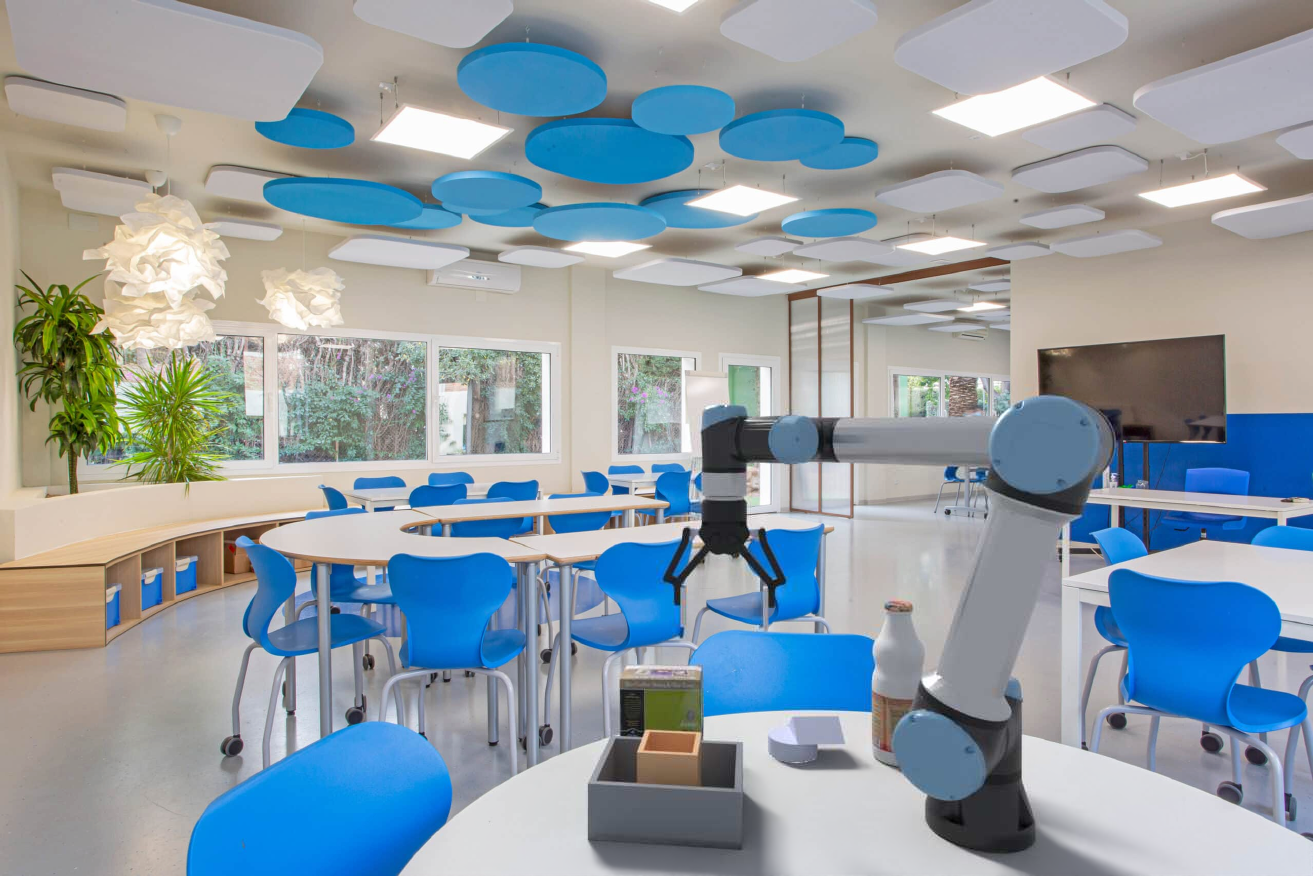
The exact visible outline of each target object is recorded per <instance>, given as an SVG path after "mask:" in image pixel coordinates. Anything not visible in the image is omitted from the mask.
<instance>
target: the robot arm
mask: <svg viewBox="0 0 1313 876" xmlns="http://www.w3.org/2000/svg"><path fill="white" fill-rule="evenodd" d="M700 439H701V440H700V441H701V464H702V465H701V474H700V476H701V477H700V479H701V486H700V487H701V496H702V497H704V499H702V500H701V525H700V527H699V528H695V527H691V526H689V525H687V526H684V527H683V529H682V534H681V535H682V536H681V541H680V543H679V545H678V547H677V548H676V550H675V553H674V555H673V557H672V559H671V561H670V563H669V565H668V566H667V569H666V571H665V573H664V574H663V578H662V580H663V582H664V583H665V584H666V583H667V584H670V585H672V587H673V604H674V606H675V607H676V606H680V628H685V627H686V625H687V584H683V582H684V581H686V580H687V578H688V577H689V576H690V574H691V573H692V572H693V571H694V570H695V569H696V568H697V567H698V565H699V564H700V563H701V562H702V560H703V559H704V558H705V557H706V556H707V555H708V554H709V553H711V554H714V555H715V556H721V555H727V556H734V555H735V554H737V553H739V555H740V556H741V557H742V558H743V559H744V560H745V561H746V563H747V564H749V566H750V567H751V568H752V570H753V571H754V572H755V573H756V574H757V575H758V576H759V578H760V579H761V580H762V582H763V583H764V584H765V585H766V586H764V585H763V586H762V595H763V597H762V599H763V600H762V608H763V609H762V610H763V611H762V613H763V615H762V617H763V618H762V619H763V620H762V623H763V625H762V627H763V630H769V609H774V608H775V606H776V589H777V588H778V587H780V586H784V585H786V584H787V578H786V576H785V574H784V572H783V570H782V567H781V566H780V564H779V562H778V560H777V558H776V556H775V554H774V552H773V550H772V548H771V546H770V544H769V542H768V539H767V531H766V528H765V527H763V526H759V528H751V529H750V528H749V526H748V502H747V501H746V499H745V498H744V497H747V494H748V487H747V486H748V485H747V484H748V481H747V480H748V472H747V471H748V470H747V468H748V467H747V466H748V464H749V463H750V464H753V463H759V464H760V463H761V464H784V465H788V466H789V465H798V464H806V463H835V464H836V463H837V464H838V463H839V464H840V463H844V464H867V465H868V464H869V465H870V464H872V465H873V464H874V465H897V466H899V465H900V466H927V467H929V466H930V467H953V468H955V467H957V468H960V467H961V468H983V469H984V468H985V469H988V471H987V474H986V478H985V481H984V484H983V487H982V488H983V489H984V491H985V493H986V494H987V497H988V498H989V500H990V507H989V510H988V512H987V513H988V514H987V515H986V520H985V522H984V525H983V528H982V531H981V534H980V537H979V541H978V543H977V546H976V550H975V551H974V555H973V558H972V561H971V565H970V567H969V569H968V573H967V576H966V579H965V582H964V586H963V588H962V591H961V593H960V597H959V600H958V603H957V607H956V609H955V612H954V614H953V615H954V616H953V619H952V620H951V621H952V622H951V623H950V628H949V629H948V630H949V631H948V634H947V637H946V640H945V642H944V645H943V649H942V651H941V655H940V658H939V661H938V664H937V667H935V668H932V669H930V670H927V671H925V672H924V671H923V674H922V676H921V679H920V682H919V685H918V688H917V691H916V694H915V697H914V700H913V703H912V706H911V709H910V711H909V713H907V714H906V715H904V716H903V717H902V718H901V719H900V721H899V722H898V724H897V726H896V728H895V730H894V733H893V739H892V747H893V753H894V757H895V759H896V762H897V763H898V765H899V768H900V771H901V773H902V774H903V775H904V777H905V778H906V779H907V781H909V783H910V784H911V785H912V786H914V788H916V789H917V790H919V791H921V793H923V794H925V795H926V798H925V800H924V801H925V802H924V818H925V822H926V824H927V825H928V826H929V828H930V829H931V830H932V831H933V832H935V833H936V834H937V835H939V836H941V837H942V838H944V839H946V840H948V841H950V842H952V843H954V844H956V845H959V846H962V847H966V848H970V849H974V850H978V851H984V852H991V853H1012V852H1018V851H1022V850H1025V849H1028V848H1029V847H1031V846H1032V845H1034V843H1035V841H1036V836H1037V835H1036V833H1037V831H1036V819H1035V816H1034V813H1033V810H1032V807H1031V803H1030V800H1029V798H1028V797H1029V796H1028V795H1027V792H1026V788H1025V786H1024V783H1023V772H1022V771H1023V769H1022V768H1023V728H1022V727H1023V720H1022V719H1023V715H1022V714H1023V703H1024V699H1023V696H1022V685H1021V683H1020V681H1019V680H1018V679H1017V678H1016V677H1014V676H1013V675H1012V673H1013V670H1014V667H1015V664H1016V662H1017V658H1018V656H1019V653H1020V649H1021V647H1022V645H1023V641H1024V638H1025V635H1026V633H1027V630H1028V627H1029V624H1030V621H1031V618H1032V615H1033V613H1034V610H1035V607H1036V604H1037V601H1038V598H1039V596H1040V593H1041V591H1042V590H1041V589H1042V588H1043V585H1044V582H1045V579H1046V576H1047V573H1048V571H1049V568H1050V564H1051V561H1052V559H1053V556H1054V552H1055V549H1056V547H1057V544H1058V542H1059V539H1060V536H1061V533H1062V530H1063V527H1064V526H1065V525H1066V524H1068V523H1071V522H1073V521H1075V520H1077V519H1080V518H1082V515H1083V512H1084V509H1085V507H1086V505H1087V502H1088V498H1089V497H1090V493H1091V491H1092V488H1093V485H1094V482H1095V479H1097V478H1098V477H1100V476H1101V475H1102V474H1104V472H1105V471H1106V470H1107V468H1108V467H1109V466H1110V465H1111V463H1112V461H1113V459H1114V456H1115V453H1116V448H1117V441H1116V440H1117V438H1116V433H1115V430H1114V428H1113V426H1112V423H1111V422H1110V420H1109V419H1108V418H1107V417H1106V416H1105V414H1103V412H1102V411H1100V410H1098V409H1097V408H1096V407H1094V406H1093V405H1090V404H1088V403H1085V402H1082V401H1079V400H1075V399H1071V398H1069V397H1066V396H1059V395H1053V394H1043V395H1042V394H1040V395H1038V396H1033V397H1028V398H1026V399H1023V400H1020V401H1018V402H1017V403H1015V404H1013V405H1011V406H1010V407H1008V408H1007V409H1006V410H1005V411H1004V412H1002V414H1001V415H1000V416H937V417H936V416H931V417H930V416H923V417H921V416H919V417H917V416H916V417H913V416H912V417H910V416H909V417H908V416H907V417H906V416H905V417H903V416H902V417H809V416H806V415H797V414H784V415H769V416H768V415H767V416H749V415H748V412H747V408H746V407H745V405H740V404H739V405H738V404H715V405H714V404H713V405H712V404H711V405H708V406H706V407H704V408H703V409H702V414H701V428H700ZM697 536H698V537H699V539H701V541H702V542H703V544H704V545H702V547H701V548H700V550H699V551H698V552H697V553H695V555H694V556H693V558H691V560H690V561H689V562H688V564H687V565H686V566H685V567H684V568H683V569H682V570H681V571H680V573H679V574H678V575H674V574H675V571H676V570H677V567H678V565H679V563H680V561H681V560H682V557H683V556H684V553H685V552H686V549H687V547H688V545H689V543H690V542H692V541H694V540H695V538H696V537H697ZM750 537H752V538H754V541H755V542H756V543H758V542H759V545H760V547H761V549H762V551H763V553H764V556H765V557H766V559H767V561H768V563H769V566H770V567H771V569H772V572H773V573H774V575H775V577H772V575H770V574H769V572H767V570H766V569H765V568H764V566H762V564H761V562H759V560H757V559H756V557H755V556H754V555H753V554H752V552H751V551H750V550H749V548H748V547H747V546H746V545H745V544H746V542H747V541H748V539H749V538H750Z"/></svg>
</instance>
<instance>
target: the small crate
mask: <svg viewBox="0 0 1313 876" xmlns="http://www.w3.org/2000/svg"><path fill="white" fill-rule="evenodd" d="M637 783H642V784H659V785H677V786H694V787H701V732H684V731H663V730H645V732H644V735H643V738H642V740H641V743H640V746H639V749H638V751H637Z"/></svg>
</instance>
